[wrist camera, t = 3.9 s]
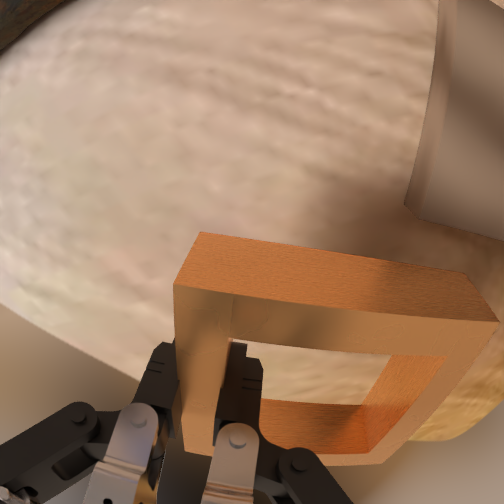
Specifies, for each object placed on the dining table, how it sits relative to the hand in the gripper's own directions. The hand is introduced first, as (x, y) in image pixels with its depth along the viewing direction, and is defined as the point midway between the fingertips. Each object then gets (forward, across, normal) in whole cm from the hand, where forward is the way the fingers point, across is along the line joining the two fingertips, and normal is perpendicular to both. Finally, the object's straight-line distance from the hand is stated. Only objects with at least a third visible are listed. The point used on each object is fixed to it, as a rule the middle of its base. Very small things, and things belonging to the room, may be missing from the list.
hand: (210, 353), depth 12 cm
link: (+1, -4, 0) cm, 4 cm away
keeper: (+6, -14, -12) cm, 19 cm away
